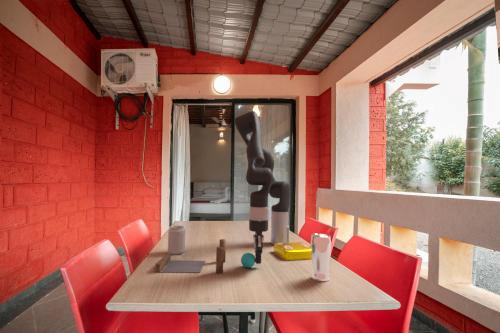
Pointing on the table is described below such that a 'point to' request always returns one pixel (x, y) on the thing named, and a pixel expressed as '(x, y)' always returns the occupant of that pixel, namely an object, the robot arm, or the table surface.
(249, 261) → the ball
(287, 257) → the element tile
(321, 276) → the silver metal tumbler
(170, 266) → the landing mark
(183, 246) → the can
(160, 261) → the strip
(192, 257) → the table surface
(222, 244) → the post
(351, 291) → the table surface
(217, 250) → the post
